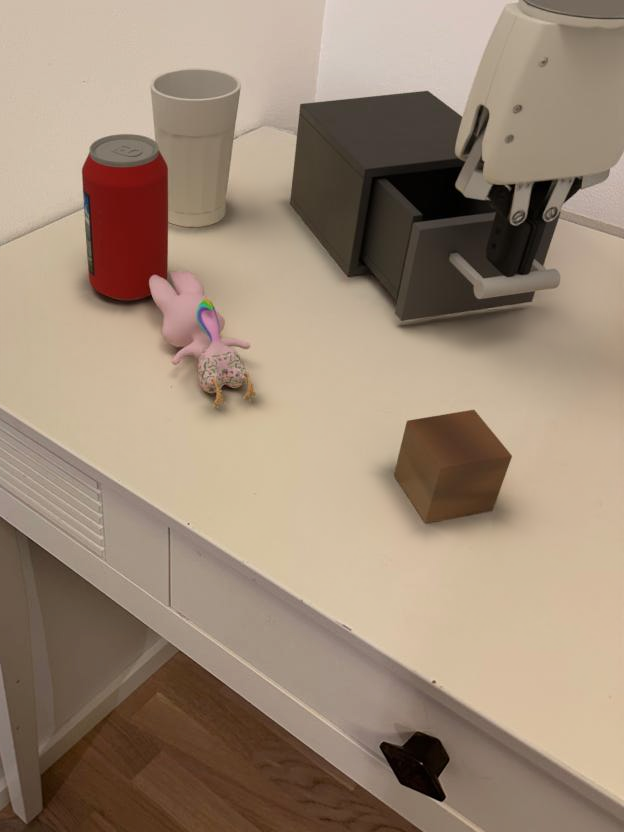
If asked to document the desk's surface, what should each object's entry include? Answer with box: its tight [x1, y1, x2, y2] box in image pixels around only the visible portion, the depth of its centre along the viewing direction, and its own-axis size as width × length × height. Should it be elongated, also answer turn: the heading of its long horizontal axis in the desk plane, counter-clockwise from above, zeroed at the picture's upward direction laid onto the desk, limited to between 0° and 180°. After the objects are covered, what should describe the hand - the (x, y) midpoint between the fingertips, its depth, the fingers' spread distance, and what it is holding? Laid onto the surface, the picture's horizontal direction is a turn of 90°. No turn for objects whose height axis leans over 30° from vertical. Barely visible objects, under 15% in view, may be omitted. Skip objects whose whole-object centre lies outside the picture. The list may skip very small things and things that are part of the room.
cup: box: [149, 67, 242, 228], centre depth 82 cm, size 8×8×12 cm
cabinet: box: [289, 90, 466, 277], centre depth 79 cm, size 15×13×10 cm
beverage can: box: [81, 133, 169, 302], centre depth 72 cm, size 7×7×12 cm
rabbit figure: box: [149, 270, 257, 410], centre depth 67 cm, size 6×6×15 cm
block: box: [393, 409, 513, 524], centre depth 55 cm, size 5×5×5 cm
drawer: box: [359, 167, 562, 322], centre depth 71 cm, size 19×11×8 cm, turn 13°
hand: (506, 266), depth 64 cm, fingers closed
